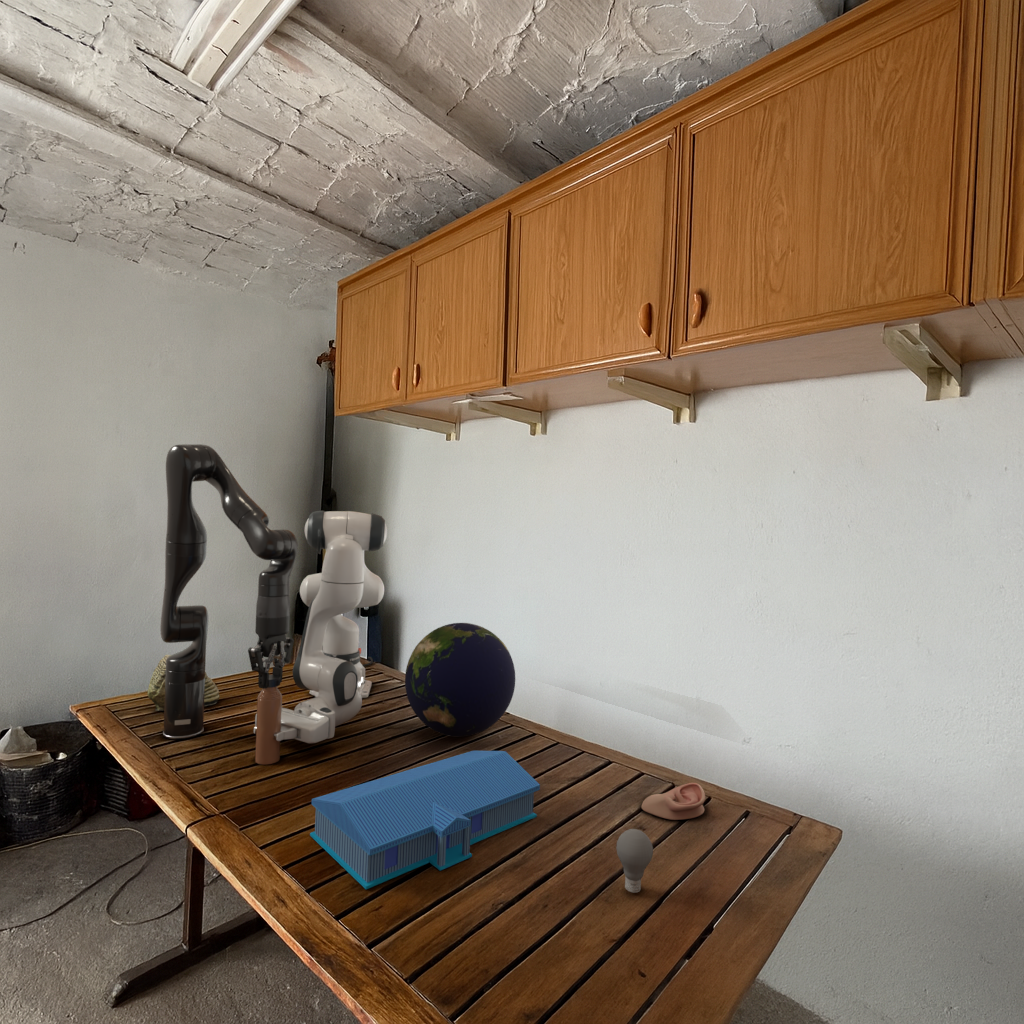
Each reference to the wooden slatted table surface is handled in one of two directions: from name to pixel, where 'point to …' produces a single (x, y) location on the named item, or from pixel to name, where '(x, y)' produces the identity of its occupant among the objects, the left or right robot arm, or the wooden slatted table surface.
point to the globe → (460, 679)
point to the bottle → (268, 725)
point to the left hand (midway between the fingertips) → (270, 684)
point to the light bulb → (634, 857)
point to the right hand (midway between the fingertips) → (265, 734)
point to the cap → (274, 681)
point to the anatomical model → (677, 802)
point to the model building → (423, 815)
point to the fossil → (158, 687)
